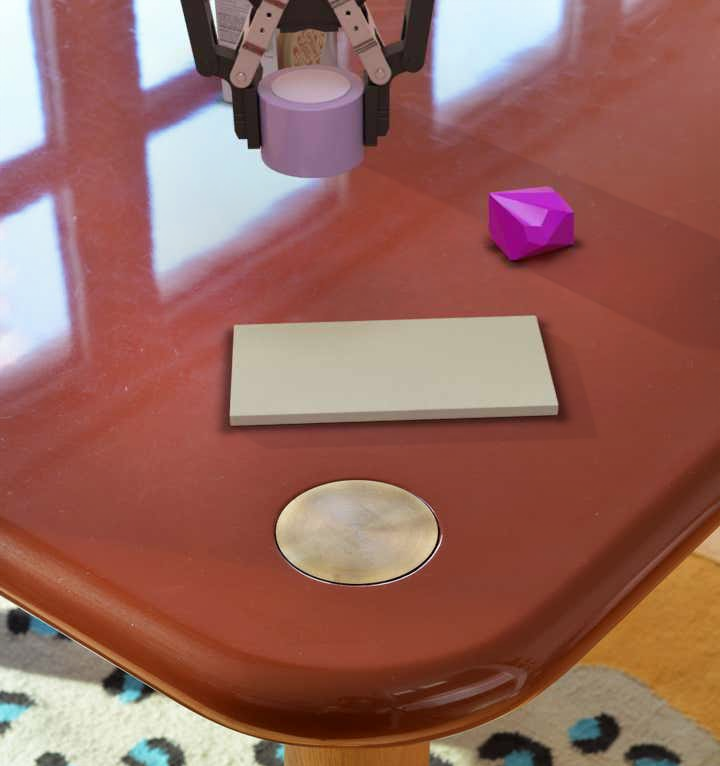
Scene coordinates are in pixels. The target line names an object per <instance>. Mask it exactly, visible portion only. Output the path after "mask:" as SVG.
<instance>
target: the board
mask: <svg viewBox="0 0 720 766" xmlns="http://www.w3.org/2000/svg"><path fill="white" fill-rule="evenodd" d="M545 349H546V348H545V346H544V341H543V338H542V334H541V330H540V325H539V321H538V318H537V315H507V316H478V317H477V316H476V317H444V318H440V317H439V318H413V319H412V318H411V319H381V320H380V319H379V320H377V319H375V320H349V321H348V320H347V321H317V322H315V321H313V322H282V323H253V324H251V323H250V324H249V323H248V324H234V325H233V340H232V360H231V361H232V363H231V382H230V399H229V400H230V402H229V403H230V404H229V423H230V426H231V427H234V426H235V427H236V426H237V427H239V426H240V427H241V426H269V425H271V426H272V425H273V426H274V425H299V424H301V425H302V424H326V423H327V424H329V423H356V422H357V423H359V422H360V423H361V422H389V421H390V422H391V421H393V422H394V421H415V420H416V421H419V420H448V419H449V420H451V419H475V418H477V419H478V418H480V419H481V418H482V419H483V418H508V417H510V418H511V417H512V418H513V417H538V416H539V417H540V416H558V414H559V401H558V398H557V393H556V390H555V385H554V381H553V377H552V374H551V373H552V372H551V370H550V365H549V361H548V358H547V353H546V350H545Z"/></svg>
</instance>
